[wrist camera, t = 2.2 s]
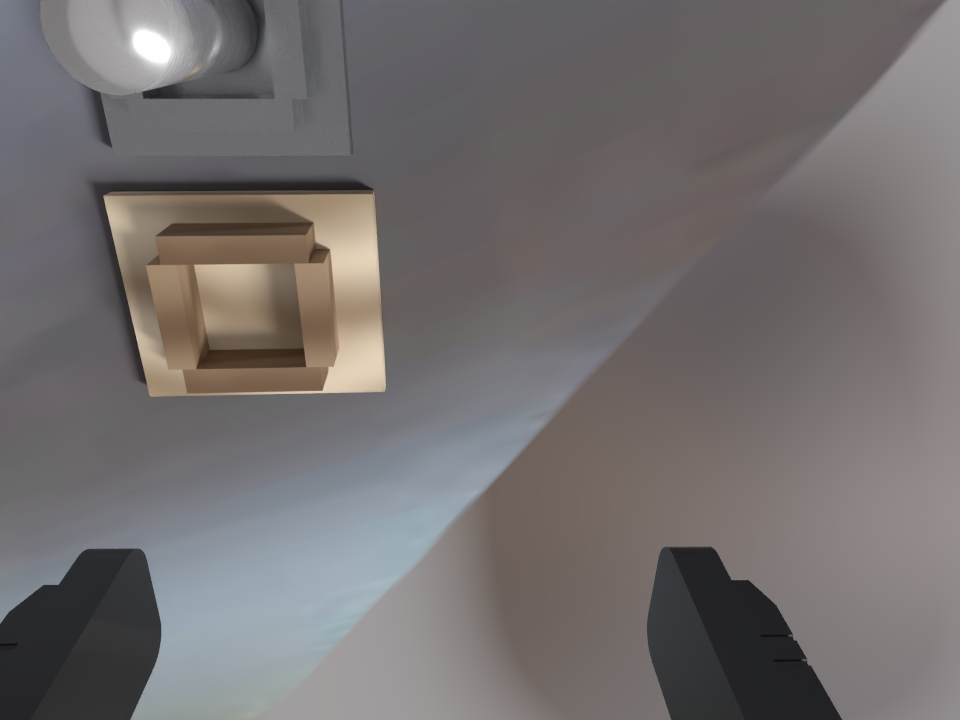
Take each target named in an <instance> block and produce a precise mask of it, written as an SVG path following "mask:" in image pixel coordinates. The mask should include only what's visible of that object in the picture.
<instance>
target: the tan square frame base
mask: <svg viewBox="0 0 960 720" xmlns="http://www.w3.org/2000/svg"><path fill="white" fill-rule="evenodd" d="M103 197H104V201H105V205H106V210H107V214H108V218H109V223H110V227H111V231H112V235H113V240H114V244H115V248H116V253H117V257H118V261H119V266H120V270H121V274H122V278H123V283H124V287H125V291H126V296H127V300H128V304H129V308H130V313H131V317H132V321H133V326H134V330H135V334H136V338H137V343H138V347H139V351H140V356H141V360H142V364H143V369H144V373H145V377H146V381H147V386H148V390H149V394H150V396H199V395H247V394H296V393H344V392H385V387H386V377H385V360H384V344H383V328H382V311H381V295H380V279H379V262H378V246H377V229H376V213H375V197H374V190H297V191H124V192H110V193H108V194H106V195H104V196H103Z"/></svg>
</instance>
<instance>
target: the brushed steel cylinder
mask: <svg viewBox="0 0 960 720" xmlns="http://www.w3.org/2000/svg"><path fill="white" fill-rule="evenodd" d="M40 21H41V27H42V31H43V34H44V37H45V40H46V42H47V44H48V47H49V48H50V50H51V52H52V54H53V55H54V57H55V58H56V60H57V61H58V62H59V64H60V65H61V66H62V67H63V68H64V69H65V70H66V71H67V72H68V73H69V74H70V75H71V76H72V77H73V78H75V79H76V80H77V81H79V82H80V83H82V84H84V85H85V86H87V87H89V88H91V89H93V90H96V91H99V92H102V93H105V94H110V95H129V94H134V93H138V92H142V91H147V90H151V89H155V88H159V87H164V86H168V85H172V84H177V83H181V82H185V81H190V80H194V79H198V78H202V77H207V76H211V75H215V74H220V73H224V72H228V71H232V70H235V69H237V68H239V67H241V66H242V65H243V64H245V63H246V62H247V61H248V60H249V58H250V57H251V55H252V53H253V51H254V49H255V46H256V42H257V24H256V20H255V16H254V14H253V11H252V9H251V7H250V5H249V4H248V2H247V1H246V0H40Z"/></svg>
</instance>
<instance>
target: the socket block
mask: <svg viewBox="0 0 960 720" xmlns="http://www.w3.org/2000/svg"><path fill="white" fill-rule="evenodd" d="M246 1H247V2H248V4H249V5H250V7H251V9H252V11H253V14H254V16H255V20H256V24H257V42H256V46H255V49H254V51H253V53H252V55H251V57H250V58H249V60H248V61H247V62H246V63H245V64H243V65H242V66H241V67H239V68H237V69H235V70H232V71H228V72H224V73H220V74H215V75H211V76H207V77H202V78H198V79H194V80H190V81H185V82H181V83H177V84H172V85H168V86H164V87H159V88H155V89H151V90H147V91H142V92H138V93H134V94H129V95H110V94H105V93H102V92H100V94H101V99H102V103H103V108H104V113H105V117H106V122H107V126H108V131H109V135H110V140H111V144H112V149H113V153H114V156H351V155H352V153H353V147H352V133H351V119H350V106H349V92H348V78H347V64H346V51H345V37H344V23H343V9H342V0H246Z"/></svg>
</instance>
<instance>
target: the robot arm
mask: <svg viewBox="0 0 960 720" xmlns="http://www.w3.org/2000/svg"><path fill="white" fill-rule="evenodd" d="M647 637H648V645H649V651H650V656H651V659H652V663H653V666H654V669H655V672H656V675H657V678H658V681H659V684H660V687H661V690H662V693H663V696H664V699H665V702H666V705H667V708H668V711H669V714H670V717H671V720H842V719H841V717H840V715H839V714H838V712H837V710H836V709H835V707H834V705H833V703H832V702H831V700H830V698H829V696H828V695H827V693H826V692H825V689H824V688H823V686H822V684H821V682H820V681H819V679H818V677H817V675H816V674H815V672H814V670H813V669H812V667H811V666H808V664H807V658H806V656H805V655H804V653H803V651H802V650H801V648H800V646H799V645H798V643H797V641H794V640H793V634H792V632H791V630H790V629H789V627H788V625H787V623H786V622H785V620H784V618H783V617H782V615H781V613H780V611H779V609H778V608H777V606H776V605H775V604H774V603H773V602H772V601H771V600H770V599H768V598H767V597H766V596H765V595H764V594H763V593H762V592H761V591H760V590H759V589H758V588H756V587H755V586H754V585H753V584H752V583H751V582H750V581H749V580H731V578H730V576H729V575H728V573H727V571H726V569H725V567H724V565H723V563H722V561H721V559H720V557H719V555H718V554H717V552H716V551H715V550H714V549H713V548H712V547H664V548H663V549H662V550H661V552H660V555H659V560H658V565H657V570H656V576H655V581H654V586H653V592H652V598H651V603H650V608H649V613H648V621H647ZM160 642H161V621H160V616H159V612H158V608H157V603H156V599H155V594H154V590H153V586H152V581H151V577H150V572H149V568H148V563H147V559H146V556H145V554H144V552H143V551H142V550H141V549H87V550H85V551H83V552H82V553H81V554H80V555H79V556H78V558H77V559H76V561H75V562H74V563H73V565H72V566H71V568H70V569H69V571H68V572H67V574H66V575H65V577H64V578H63V579H62V581H61V582H60V584H59V585H43V586H42V587H41V588H39V589H38V590H37V591H35V592H34V593H33V594H32V595H30V596H29V597H28V598H27V599H25V600H24V601H23V602H21V603H20V604H19V605H18V606H16V607H15V608H14V609H12V610H11V611H10V612H9V613H8V614H7V616H6V617H5V618H4V620H3V621H2V622H1V624H0V720H130V719H131V717H132V715H133V712H134V710H135V708H136V706H137V704H138V701H139V699H140V697H141V695H142V692H143V690H144V688H145V686H146V684H147V681H148V679H149V677H150V675H151V673H152V670H153V668H154V666H155V663H156V660H157V657H158V653H159V648H160Z"/></svg>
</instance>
